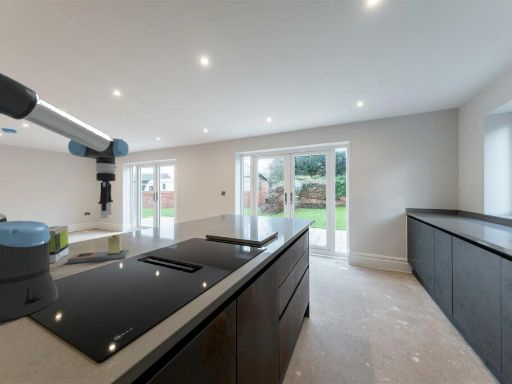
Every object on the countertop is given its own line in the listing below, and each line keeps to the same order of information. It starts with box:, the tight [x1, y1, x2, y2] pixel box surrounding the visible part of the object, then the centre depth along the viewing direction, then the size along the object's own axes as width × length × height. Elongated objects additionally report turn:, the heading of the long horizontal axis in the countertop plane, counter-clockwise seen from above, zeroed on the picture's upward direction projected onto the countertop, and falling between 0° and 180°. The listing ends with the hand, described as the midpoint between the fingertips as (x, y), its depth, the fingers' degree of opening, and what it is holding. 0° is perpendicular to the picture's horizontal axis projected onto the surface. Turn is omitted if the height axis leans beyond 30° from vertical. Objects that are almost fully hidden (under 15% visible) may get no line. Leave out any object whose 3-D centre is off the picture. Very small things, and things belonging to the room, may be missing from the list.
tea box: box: [48, 225, 70, 264], centre depth 98 cm, size 15×10×15 cm
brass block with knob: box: [107, 234, 123, 255], centre depth 102 cm, size 4×4×10 cm
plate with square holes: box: [67, 249, 130, 265], centre depth 99 cm, size 8×22×2 cm, turn 111°
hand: (106, 216), depth 101 cm, fingers open, 13 cm apart
